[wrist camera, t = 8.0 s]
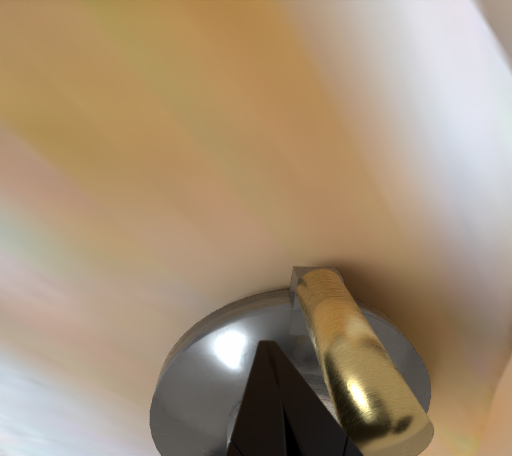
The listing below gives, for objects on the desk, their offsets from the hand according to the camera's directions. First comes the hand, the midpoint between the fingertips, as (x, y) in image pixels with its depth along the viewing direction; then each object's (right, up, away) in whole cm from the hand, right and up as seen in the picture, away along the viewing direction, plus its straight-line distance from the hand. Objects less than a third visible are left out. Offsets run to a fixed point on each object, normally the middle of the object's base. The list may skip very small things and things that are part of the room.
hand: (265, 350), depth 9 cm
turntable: (+2, -5, +7) cm, 9 cm away
